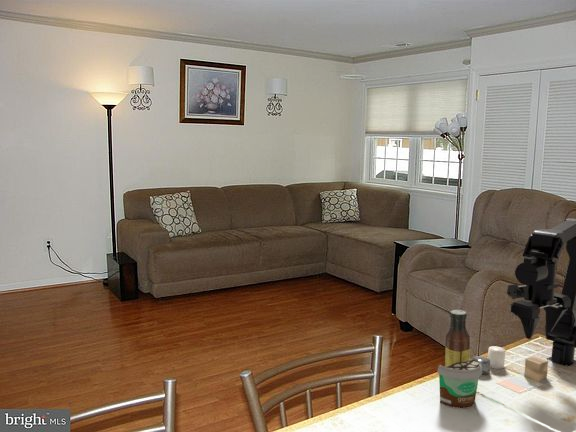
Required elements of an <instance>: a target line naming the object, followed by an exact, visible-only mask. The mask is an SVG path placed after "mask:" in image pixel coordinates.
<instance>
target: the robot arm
mask: <svg viewBox="0 0 576 432" xmlns="http://www.w3.org/2000/svg"><path fill="white" fill-rule="evenodd" d="M564 248H565V250H566V253H567V254H568V257H569V260H568V264H567V268H566V271H565V276H564V280H563V284H562V285H563V286H562V289H561V293H557V292H555V289H556V288H559V283H558V282H556V279H557V278H556V275H557V267H558V266H557V263H558V261H559V259H560V257H561V254H562V252H563V250H564ZM522 257H524V258H523V262H522V263H520V264H518V265H517V266H516V268H515V270H514V276H515V278H516V281H518V282H519V283H520V284H522V285H519V284H517V283H514V284H508V285H507V291H506V294H507V296H508V297H509V298H511V300H516V299H520V300H516V301H513V302H512V303H511V304H510V306H509V307H510V309H509V311H510V313H512V314H513V315H515V316H517V317H518V319H520V322H521V325H522V328H523V331H524V332H523V333H524V335H525V338H526V339H527V340H531V339H532V337H533V335H534V332H535V330H536V327H537V325H538V323H539V320H540V316H539V315H540V313H541V309H544V310H543V311H545V326H544V330H545V331H544V332H545V339H546V340H547V341H552V347H551V348H552V349H551V356H549V357H546V359H545V360H547V361H551V362H553V363H555V364H558V365H561V366H564V367H570V366H573V365H575V364H576V359H575V351H576V218H574V217H569V218H566V219H564V221H563V222H561V223H559V224H557V225H556V226H554V227H552V228H549V229H546V228H545V229H536V230H534V231H532V233H531V234H530V235H529V236H528V241H527V242H526V244H525V248H524V250H523V253H522ZM522 298H523V299H522Z"/></svg>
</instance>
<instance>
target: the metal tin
mask: <svg viewBox="0 0 576 432" xmlns="http://www.w3.org/2000/svg"><path fill="white" fill-rule="evenodd" d="M473 357H475V358H477V359H478V360H479V361H480V364H481V367H482V375H481V376H487V375H489V374H490V370H491V367H490V360H489V359H488V357H485V356H482V355H480V356H478V355H476V356H472V357H470V360H472V358H473Z"/></svg>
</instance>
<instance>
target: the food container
mask: <svg viewBox="0 0 576 432" xmlns="http://www.w3.org/2000/svg"><path fill="white" fill-rule="evenodd" d="M472 357H473V358H472ZM472 357H471V358H472V360H471V359H470V361H467V362H457V363H454V364H452V365H450V366H447V367H445V365H444V366H443V365H441V364H438V367H437V372H436V373H437V374H438V375H439V376H438V378H439V382H438V383H439V403H441V404H442V405H444V406H447V407H449V408H455V409H467V408H471V407H473V406H474V405H475V403H476V397H477V391H478V384H479V383H478V382H479V378H480V377H481V376H483V375H482V367H481V364H480V361H479V360H478V359H477V358H475V357H474V356H472Z"/></svg>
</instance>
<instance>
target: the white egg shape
mask: <svg viewBox="0 0 576 432" xmlns="http://www.w3.org/2000/svg"><path fill="white" fill-rule="evenodd" d="M487 358H488V359H489V360H490V369H491V368H492V369H495V370H496V369H497V370H502V369H504V368H505V360H506V349H505V348H504V347H501V346H495V345H493V346H489V347H488V352H487Z"/></svg>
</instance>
